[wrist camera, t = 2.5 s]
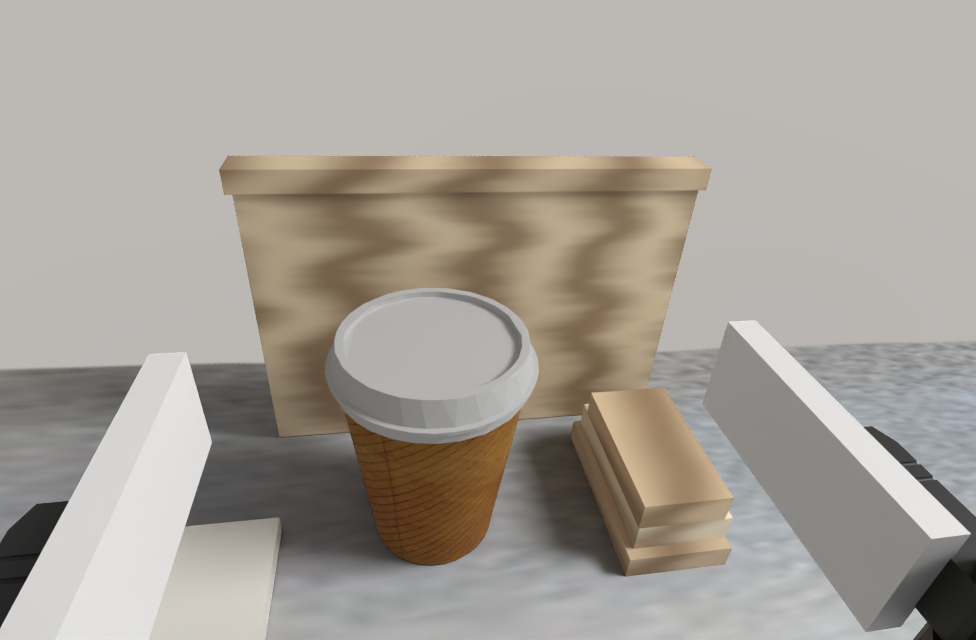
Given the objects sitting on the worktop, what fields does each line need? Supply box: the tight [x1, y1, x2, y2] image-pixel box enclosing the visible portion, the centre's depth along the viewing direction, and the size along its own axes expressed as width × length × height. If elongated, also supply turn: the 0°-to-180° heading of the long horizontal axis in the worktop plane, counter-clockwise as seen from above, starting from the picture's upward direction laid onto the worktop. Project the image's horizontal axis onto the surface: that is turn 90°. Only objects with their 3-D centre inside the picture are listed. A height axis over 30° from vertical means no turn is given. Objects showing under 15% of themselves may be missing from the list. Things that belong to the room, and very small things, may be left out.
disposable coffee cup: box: [325, 288, 539, 565], centre depth 29 cm, size 10×10×12 cm
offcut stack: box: [571, 388, 734, 576], centre depth 33 cm, size 6×10×5 cm, turn 9°
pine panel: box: [219, 156, 712, 437], centre depth 34 cm, size 25×2×17 cm, turn 99°
